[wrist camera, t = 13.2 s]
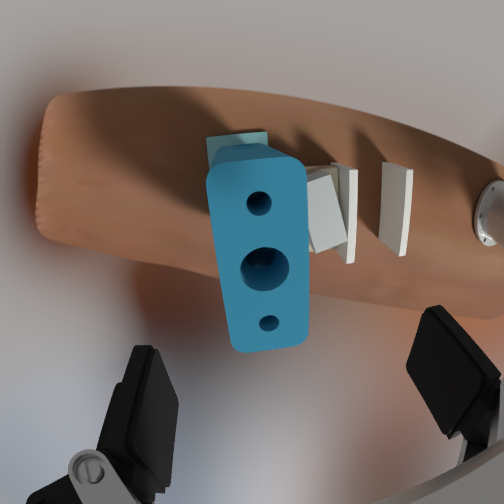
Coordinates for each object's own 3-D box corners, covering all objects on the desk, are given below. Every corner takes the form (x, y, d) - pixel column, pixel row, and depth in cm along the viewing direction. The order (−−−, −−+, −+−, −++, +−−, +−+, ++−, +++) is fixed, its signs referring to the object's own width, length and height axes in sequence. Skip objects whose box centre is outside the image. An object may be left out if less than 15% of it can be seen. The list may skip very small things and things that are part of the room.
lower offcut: (327, 164, 35) (337, 168, 32) (329, 237, 39) (338, 248, 36) (293, 166, 35) (300, 171, 31) (297, 242, 39) (304, 252, 36)
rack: (388, 161, 35) (413, 169, 29) (384, 238, 39) (405, 255, 34) (274, 165, 34) (284, 173, 28) (279, 249, 38) (288, 271, 33)
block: (215, 143, 32) (203, 165, 14) (259, 139, 32) (305, 155, 14) (227, 240, 37) (233, 354, 19) (267, 235, 37) (307, 343, 19)
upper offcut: (321, 170, 32) (330, 174, 29) (338, 231, 35) (348, 241, 32) (288, 181, 32) (294, 186, 29) (308, 243, 35) (315, 253, 32)
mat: (266, 131, 32) (267, 131, 32) (273, 234, 38) (273, 236, 37) (206, 137, 32) (205, 137, 31) (218, 240, 37) (218, 242, 37)
